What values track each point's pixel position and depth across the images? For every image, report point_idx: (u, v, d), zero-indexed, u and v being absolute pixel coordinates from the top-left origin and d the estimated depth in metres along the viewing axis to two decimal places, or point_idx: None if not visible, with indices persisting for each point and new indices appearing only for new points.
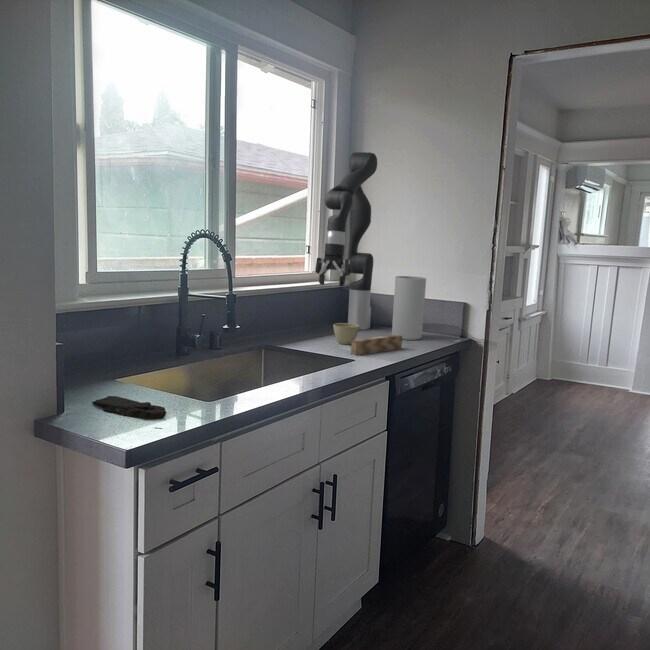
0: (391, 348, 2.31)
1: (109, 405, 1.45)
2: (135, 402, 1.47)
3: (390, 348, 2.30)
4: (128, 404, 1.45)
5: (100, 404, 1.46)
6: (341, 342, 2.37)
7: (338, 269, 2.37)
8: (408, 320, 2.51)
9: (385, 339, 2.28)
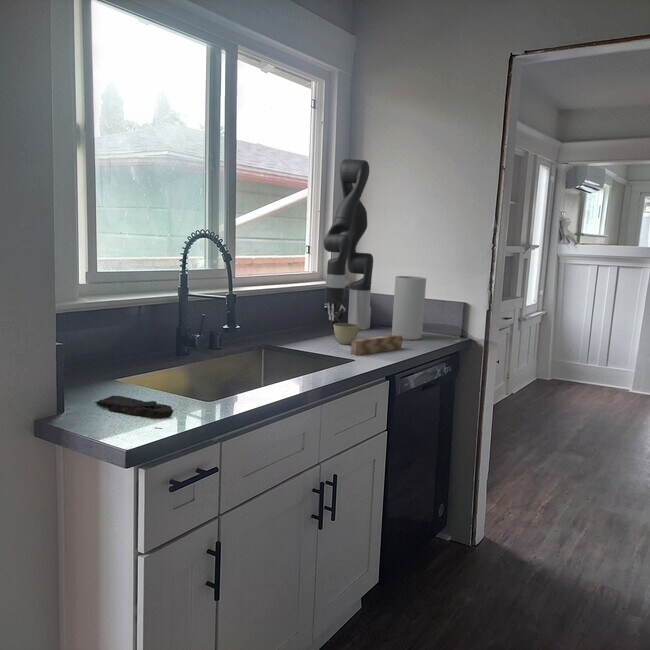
0: (391, 348, 2.31)
1: (114, 405, 1.45)
2: (140, 401, 1.48)
3: (390, 348, 2.30)
4: (133, 403, 1.46)
5: (105, 404, 1.47)
6: (341, 342, 2.37)
7: (332, 313, 2.42)
8: (408, 320, 2.51)
9: (385, 339, 2.28)
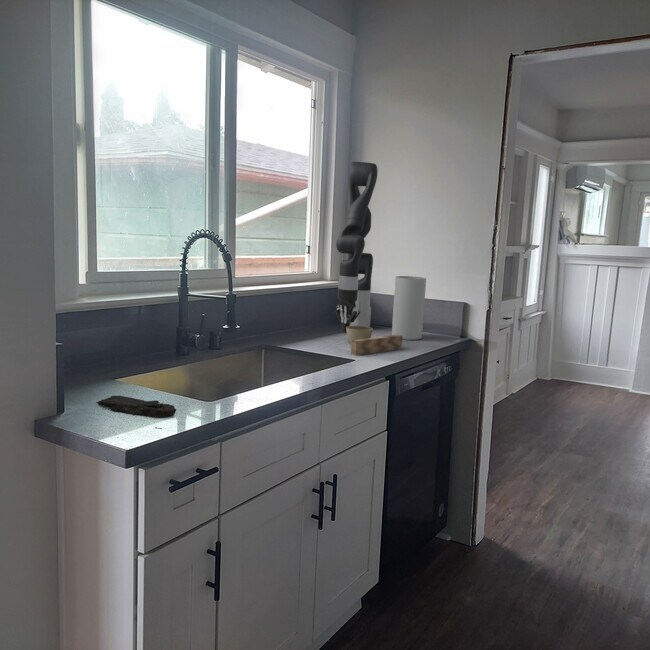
0: (391, 348, 2.31)
1: (116, 404, 1.46)
2: (142, 401, 1.48)
3: (390, 348, 2.30)
4: (136, 403, 1.46)
5: (106, 404, 1.47)
6: None
7: (345, 316, 2.36)
8: (408, 320, 2.51)
9: (385, 339, 2.28)
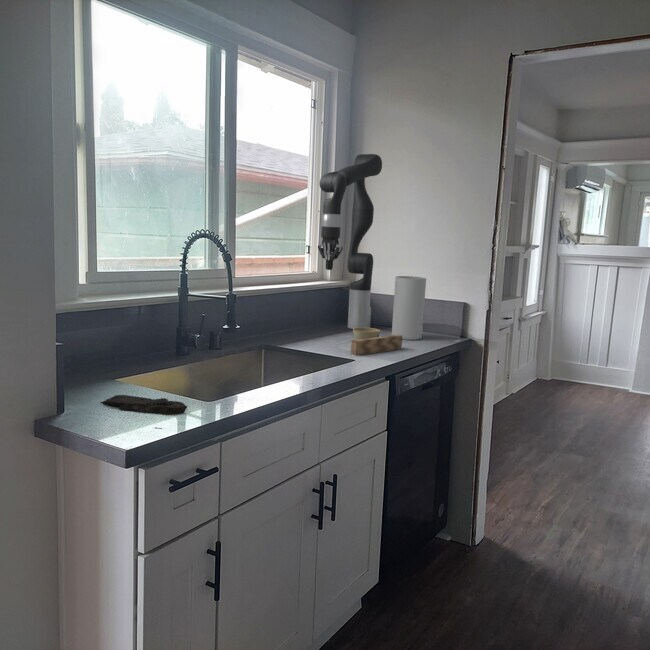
0: (391, 348, 2.31)
1: (124, 403, 1.47)
2: (149, 399, 1.50)
3: (390, 348, 2.30)
4: (144, 401, 1.48)
5: (113, 403, 1.48)
6: None
7: (328, 253, 2.46)
8: (408, 320, 2.51)
9: (385, 339, 2.28)
